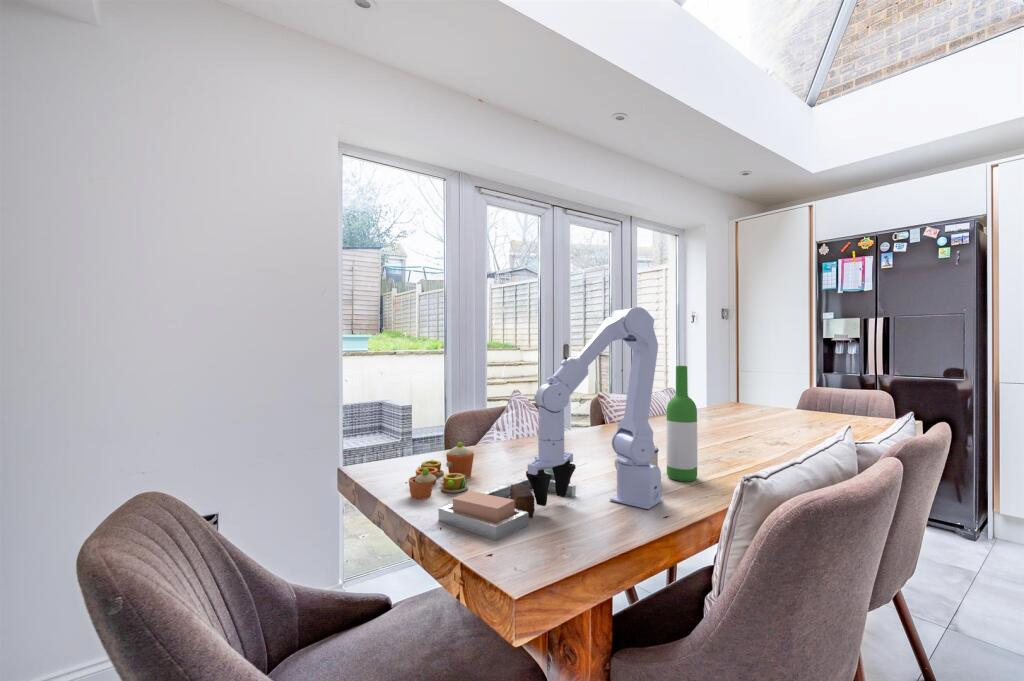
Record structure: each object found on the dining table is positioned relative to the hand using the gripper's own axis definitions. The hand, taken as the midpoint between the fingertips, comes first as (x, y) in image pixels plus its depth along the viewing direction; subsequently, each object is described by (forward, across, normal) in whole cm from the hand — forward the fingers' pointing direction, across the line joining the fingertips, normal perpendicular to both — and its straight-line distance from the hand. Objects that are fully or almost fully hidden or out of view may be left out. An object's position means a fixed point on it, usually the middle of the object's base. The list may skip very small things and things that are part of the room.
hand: (551, 500), depth 105 cm
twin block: (+2, +16, -6) cm, 17 cm away
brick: (+2, +5, -4) cm, 7 cm away
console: (+2, -15, -9) cm, 17 cm away
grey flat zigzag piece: (+2, +5, -6) cm, 8 cm away
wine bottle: (+2, -41, +14) cm, 43 cm away
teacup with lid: (+2, -30, +6) cm, 31 cm away
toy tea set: (+2, +4, -32) cm, 32 cm away
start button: (+1, -15, -9) cm, 17 cm away
